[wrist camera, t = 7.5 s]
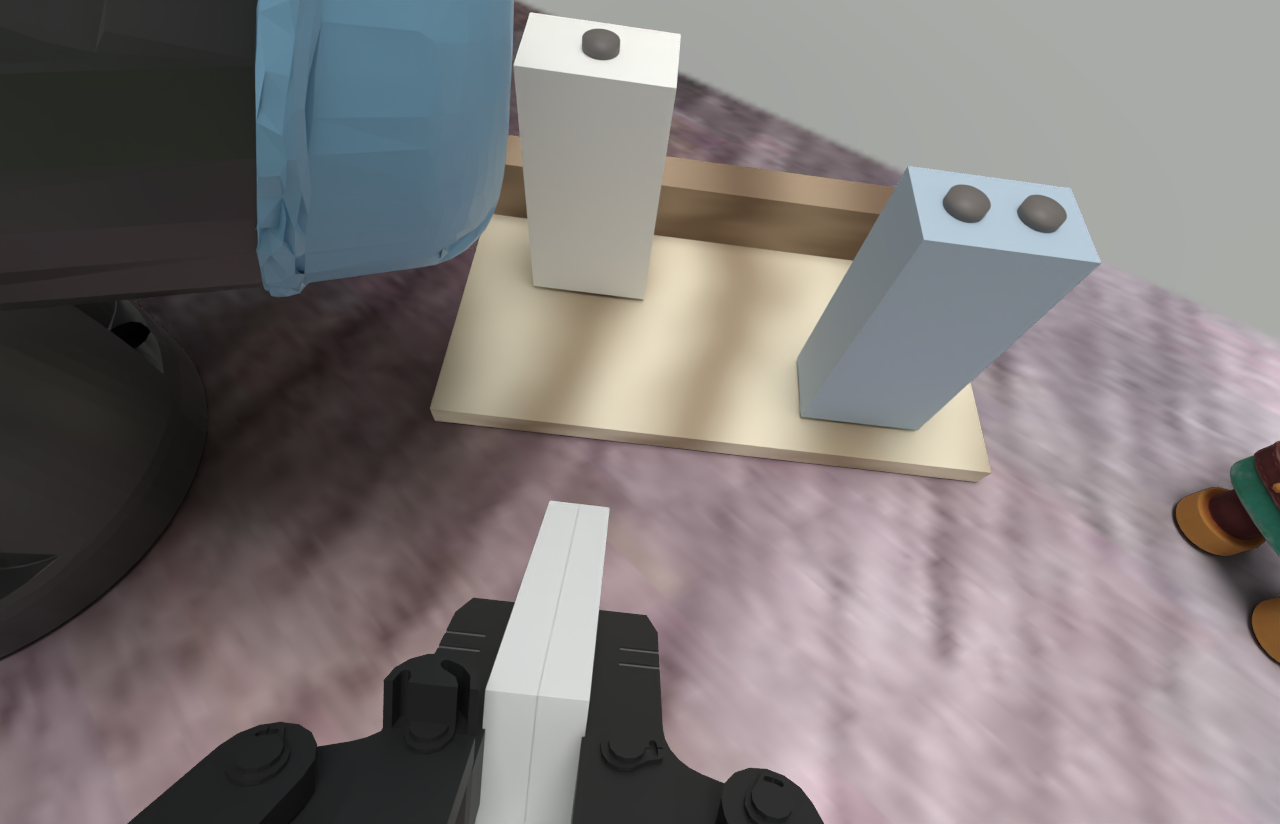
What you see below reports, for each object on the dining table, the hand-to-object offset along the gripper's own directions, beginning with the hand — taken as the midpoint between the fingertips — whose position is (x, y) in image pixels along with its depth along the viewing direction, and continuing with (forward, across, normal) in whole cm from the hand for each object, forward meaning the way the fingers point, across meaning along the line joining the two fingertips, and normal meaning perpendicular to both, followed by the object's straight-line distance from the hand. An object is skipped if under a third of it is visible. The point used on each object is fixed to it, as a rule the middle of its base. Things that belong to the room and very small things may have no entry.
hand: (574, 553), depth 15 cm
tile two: (+11, +11, +3) cm, 16 cm away
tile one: (+15, -1, +7) cm, 16 cm away
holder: (+15, +5, +4) cm, 16 cm away
